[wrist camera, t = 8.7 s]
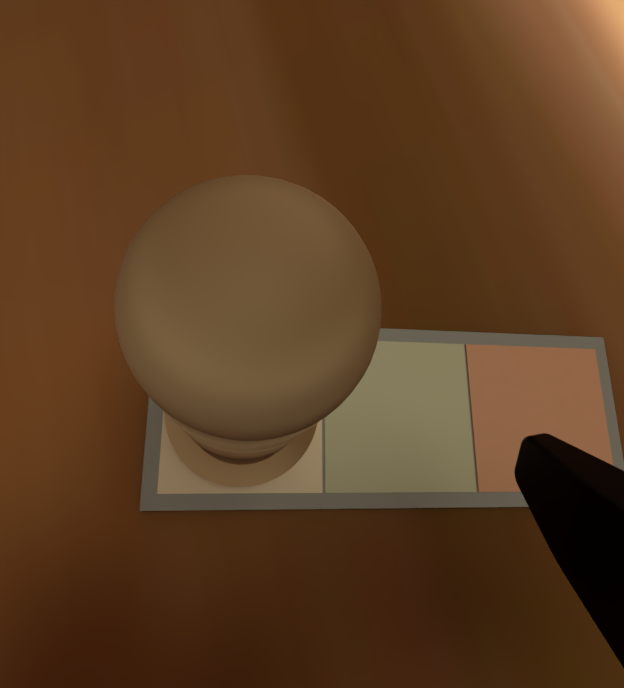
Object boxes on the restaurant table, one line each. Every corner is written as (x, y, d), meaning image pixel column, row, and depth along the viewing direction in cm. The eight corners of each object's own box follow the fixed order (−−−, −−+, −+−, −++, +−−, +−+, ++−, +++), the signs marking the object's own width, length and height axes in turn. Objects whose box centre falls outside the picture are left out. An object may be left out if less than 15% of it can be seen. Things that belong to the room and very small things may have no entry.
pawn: (276, 511, 17) (379, 589, 5) (140, 446, 17) (-110, 354, 5) (336, 380, 19) (531, 181, 6) (212, 319, 19) (164, -2, 6)
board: (141, 510, 17) (138, 511, 17) (157, 322, 19) (154, 318, 19) (622, 505, 20) (632, 505, 19) (596, 340, 22) (605, 336, 21)
